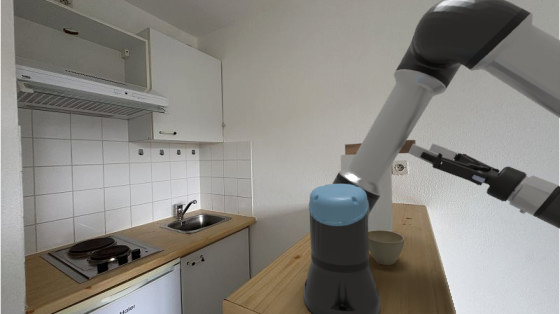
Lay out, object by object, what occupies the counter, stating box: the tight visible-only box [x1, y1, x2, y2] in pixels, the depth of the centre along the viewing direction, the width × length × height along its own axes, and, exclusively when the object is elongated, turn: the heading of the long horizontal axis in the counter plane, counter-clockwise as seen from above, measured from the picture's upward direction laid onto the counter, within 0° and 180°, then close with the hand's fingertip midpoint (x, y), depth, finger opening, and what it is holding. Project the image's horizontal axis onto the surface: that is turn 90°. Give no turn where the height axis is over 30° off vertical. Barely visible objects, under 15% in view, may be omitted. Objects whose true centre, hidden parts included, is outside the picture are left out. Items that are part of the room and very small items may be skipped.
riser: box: [340, 154, 394, 232], centre depth 82 cm, size 10×14×30 cm
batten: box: [344, 139, 417, 155], centre depth 79 cm, size 4×24×4 cm, turn 35°
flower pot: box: [368, 230, 405, 266], centre depth 63 cm, size 10×10×7 cm
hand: (421, 147), depth 64 cm, fingers open, 13 cm apart
